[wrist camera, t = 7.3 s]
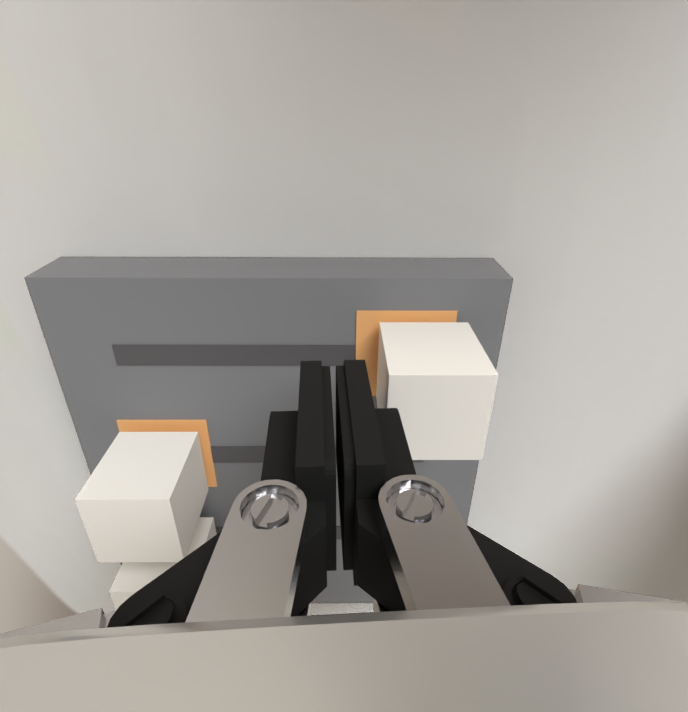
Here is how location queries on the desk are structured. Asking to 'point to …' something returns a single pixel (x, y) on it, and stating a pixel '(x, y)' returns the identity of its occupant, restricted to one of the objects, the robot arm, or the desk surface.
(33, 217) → the desk surface
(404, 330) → the near slider knob
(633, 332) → the desk surface
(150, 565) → the far slider knob
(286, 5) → the desk surface
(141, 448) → the middle slider knob
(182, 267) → the switch panel
